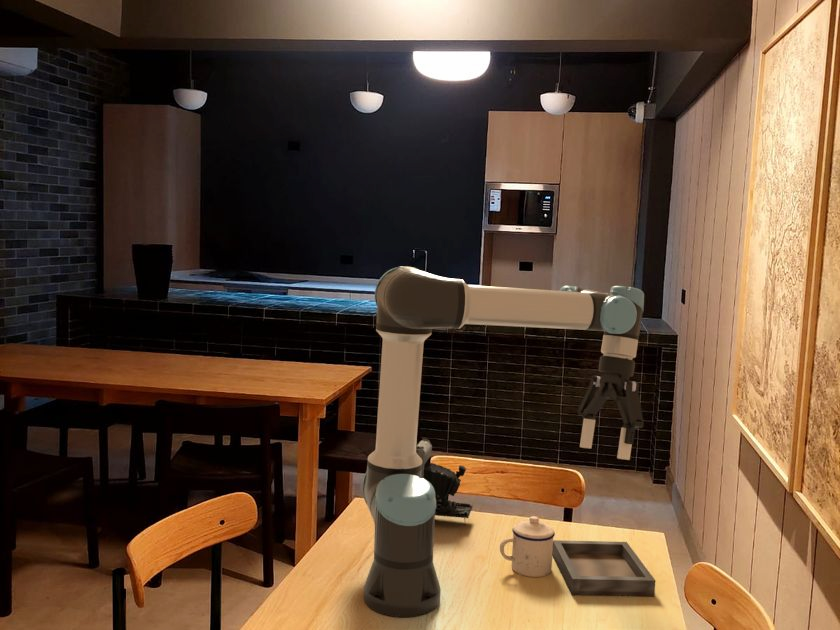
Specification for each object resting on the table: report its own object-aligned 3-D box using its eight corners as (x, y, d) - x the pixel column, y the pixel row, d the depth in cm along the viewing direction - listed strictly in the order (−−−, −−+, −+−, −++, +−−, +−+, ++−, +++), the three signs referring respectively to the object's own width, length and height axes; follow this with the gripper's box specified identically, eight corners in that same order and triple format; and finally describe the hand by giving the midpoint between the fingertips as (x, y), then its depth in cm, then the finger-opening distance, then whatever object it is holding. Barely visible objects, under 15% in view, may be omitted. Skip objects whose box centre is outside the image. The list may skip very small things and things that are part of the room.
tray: (571, 595, 153) (572, 578, 153) (551, 555, 172) (552, 540, 172) (654, 596, 154) (655, 580, 154) (625, 556, 173) (626, 541, 173)
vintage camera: (466, 534, 183) (473, 454, 181) (404, 525, 186) (410, 446, 184) (471, 520, 193) (478, 444, 191) (412, 511, 196) (418, 436, 194)
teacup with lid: (542, 558, 170) (545, 508, 169) (559, 576, 162) (562, 524, 160) (492, 562, 167) (494, 511, 166) (506, 580, 159) (509, 527, 157)
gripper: (670, 363, 156) (655, 466, 155) (597, 356, 179) (584, 445, 178) (641, 358, 153) (625, 462, 152) (571, 351, 176) (557, 441, 175)
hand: (603, 453), depth 165 cm, fingers open, 13 cm apart
